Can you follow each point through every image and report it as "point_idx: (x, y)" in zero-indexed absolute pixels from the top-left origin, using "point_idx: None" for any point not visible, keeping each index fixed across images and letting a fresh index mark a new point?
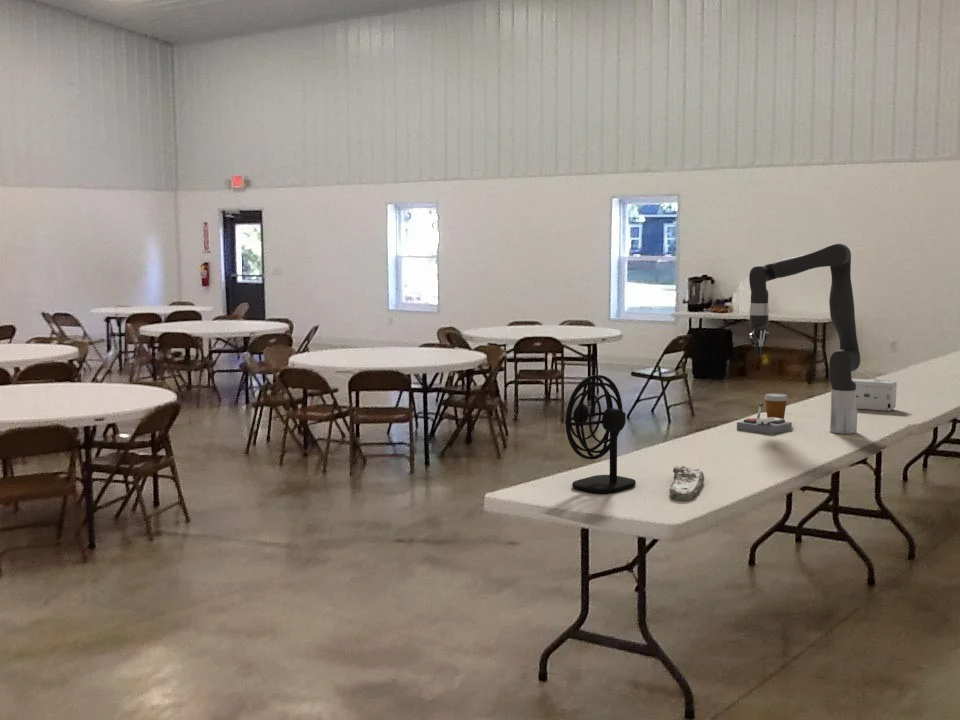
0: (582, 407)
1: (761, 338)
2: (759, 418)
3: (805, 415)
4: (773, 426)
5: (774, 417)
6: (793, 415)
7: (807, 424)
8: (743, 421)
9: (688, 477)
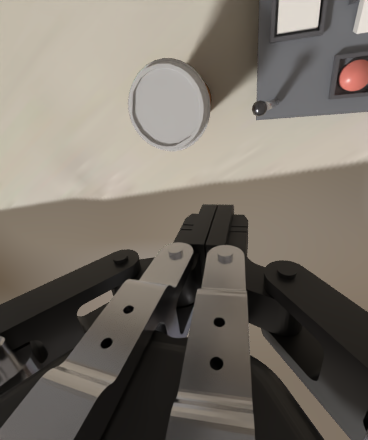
0: None
1: (199, 314)
2: None
3: (49, 119)
4: None
5: (207, 88)
6: (72, 140)
7: (137, 12)
8: (356, 105)
9: None
